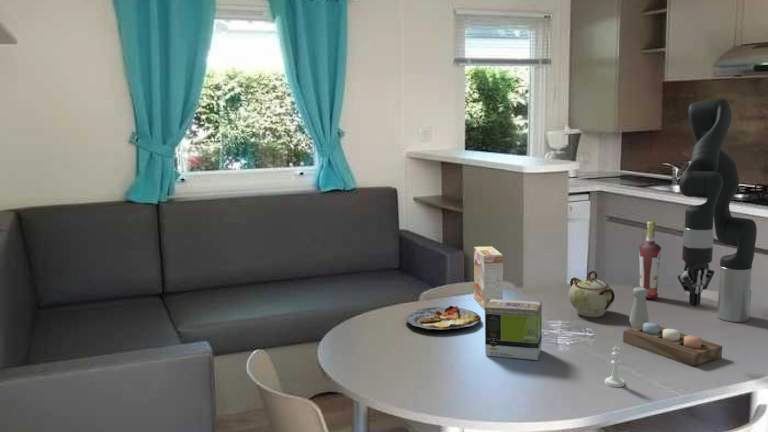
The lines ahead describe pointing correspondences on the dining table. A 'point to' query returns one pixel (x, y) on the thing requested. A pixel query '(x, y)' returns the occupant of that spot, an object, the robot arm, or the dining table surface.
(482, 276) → the coffeecake box
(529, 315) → the tea box
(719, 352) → the wooden slotted tray
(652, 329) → the slate button
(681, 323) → the dining table surface
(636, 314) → the salt shaker
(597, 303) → the sugar bowl
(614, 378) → the chess piece
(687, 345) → the terracotta button
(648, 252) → the liquor
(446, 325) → the food plate
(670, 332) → the cream button
